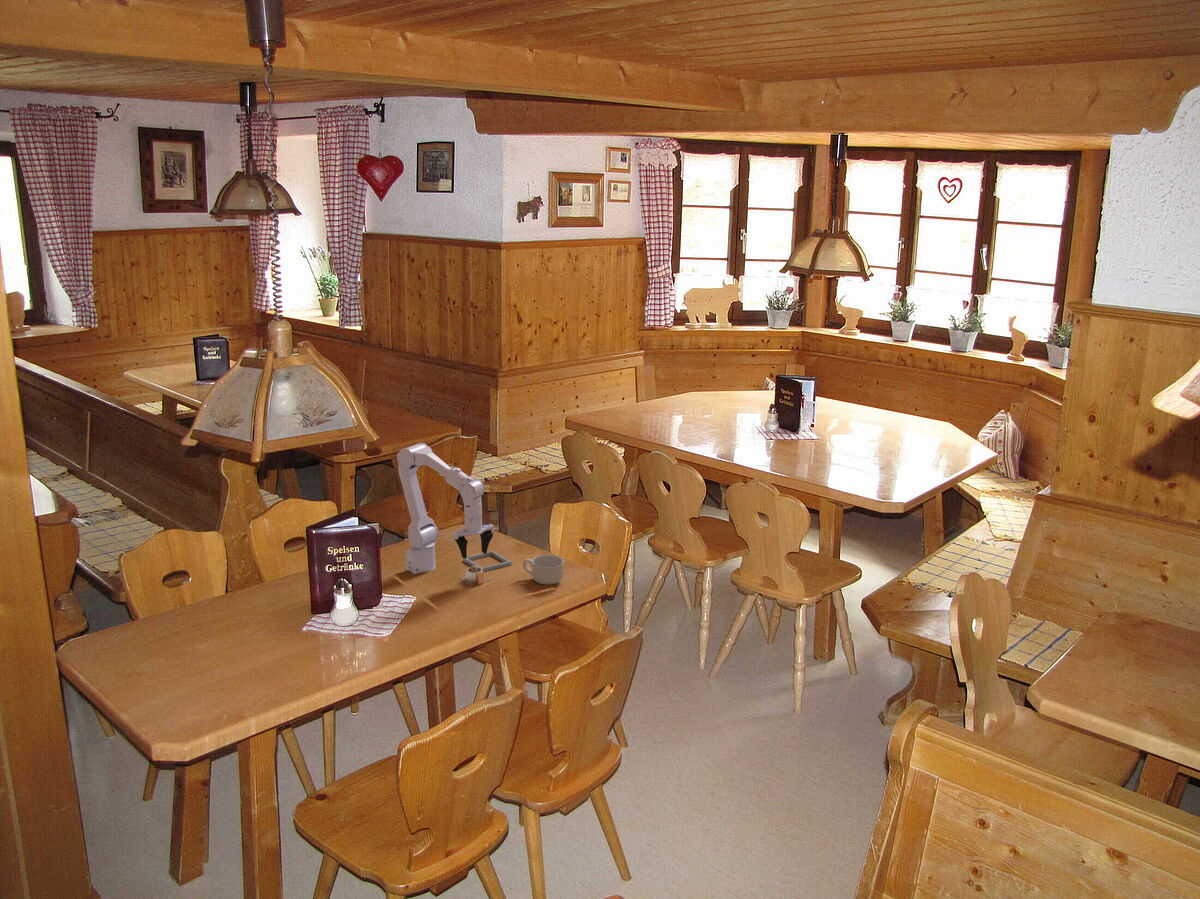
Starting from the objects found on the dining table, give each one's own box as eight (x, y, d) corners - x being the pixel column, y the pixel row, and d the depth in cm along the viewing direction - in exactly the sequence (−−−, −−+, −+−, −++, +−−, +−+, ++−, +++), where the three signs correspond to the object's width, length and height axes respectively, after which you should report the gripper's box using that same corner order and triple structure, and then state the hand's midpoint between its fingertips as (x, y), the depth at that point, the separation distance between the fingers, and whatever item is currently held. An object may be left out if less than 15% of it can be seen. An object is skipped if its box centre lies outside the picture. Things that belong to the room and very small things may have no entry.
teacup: (569, 579, 333) (569, 557, 331) (554, 591, 324) (554, 568, 322) (533, 572, 339) (532, 551, 337) (517, 583, 329) (517, 561, 327)
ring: (473, 585, 326) (473, 575, 325) (463, 578, 331) (462, 568, 330) (488, 581, 329) (488, 572, 328) (478, 575, 334) (477, 565, 334)
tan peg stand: (469, 588, 325) (469, 573, 324) (458, 580, 332) (458, 565, 330) (491, 582, 330) (490, 568, 329) (479, 575, 336) (479, 560, 335)
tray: (481, 574, 337) (481, 568, 337) (463, 562, 347) (463, 557, 347) (511, 567, 344) (511, 561, 343) (493, 555, 354) (492, 550, 354)
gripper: (459, 523, 318) (460, 563, 321) (498, 515, 326) (499, 554, 330) (449, 518, 323) (450, 556, 327) (487, 510, 332) (488, 548, 335)
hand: (474, 555), depth 329 cm, fingers open, 7 cm apart
